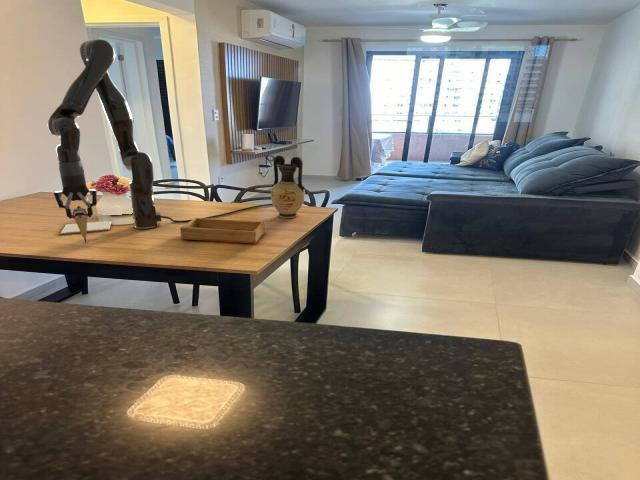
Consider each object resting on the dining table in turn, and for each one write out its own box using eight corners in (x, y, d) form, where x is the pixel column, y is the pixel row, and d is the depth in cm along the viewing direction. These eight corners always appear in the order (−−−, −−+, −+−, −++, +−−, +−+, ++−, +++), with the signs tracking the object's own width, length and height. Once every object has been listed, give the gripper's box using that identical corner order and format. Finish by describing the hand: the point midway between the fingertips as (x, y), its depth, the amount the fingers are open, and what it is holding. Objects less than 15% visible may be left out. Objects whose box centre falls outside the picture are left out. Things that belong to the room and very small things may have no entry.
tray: (264, 233, 166) (264, 220, 164) (255, 244, 152) (255, 231, 150) (196, 229, 168) (195, 217, 166) (181, 240, 154) (179, 227, 152)
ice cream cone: (82, 246, 146) (74, 208, 141) (74, 243, 149) (66, 206, 144) (96, 242, 150) (90, 205, 146) (89, 239, 153) (82, 203, 148)
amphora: (308, 212, 200) (308, 154, 190) (301, 221, 184) (301, 158, 175) (275, 210, 203) (274, 153, 193) (266, 219, 187) (264, 157, 177)
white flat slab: (111, 220, 179) (111, 219, 179) (108, 230, 165) (108, 229, 165) (66, 224, 172) (66, 223, 172) (60, 234, 158) (59, 233, 158)
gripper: (46, 175, 135) (56, 221, 140) (93, 174, 140) (100, 218, 146) (51, 172, 141) (60, 216, 147) (95, 171, 147) (102, 213, 152)
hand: (80, 217), depth 146 cm, fingers closed on ice cream cone, 5 cm apart
